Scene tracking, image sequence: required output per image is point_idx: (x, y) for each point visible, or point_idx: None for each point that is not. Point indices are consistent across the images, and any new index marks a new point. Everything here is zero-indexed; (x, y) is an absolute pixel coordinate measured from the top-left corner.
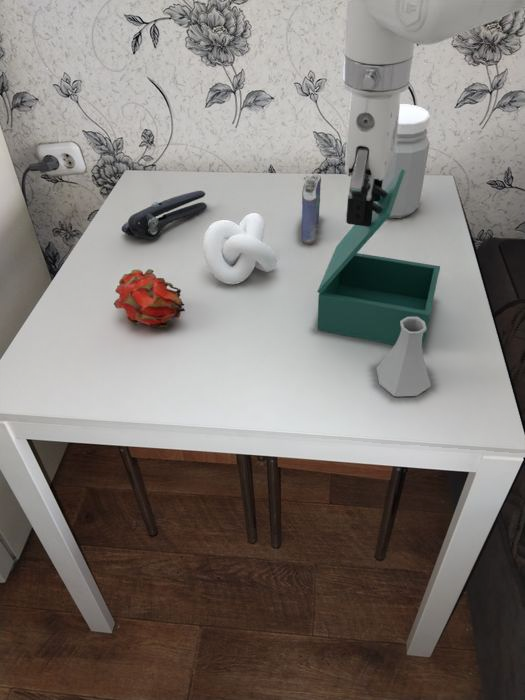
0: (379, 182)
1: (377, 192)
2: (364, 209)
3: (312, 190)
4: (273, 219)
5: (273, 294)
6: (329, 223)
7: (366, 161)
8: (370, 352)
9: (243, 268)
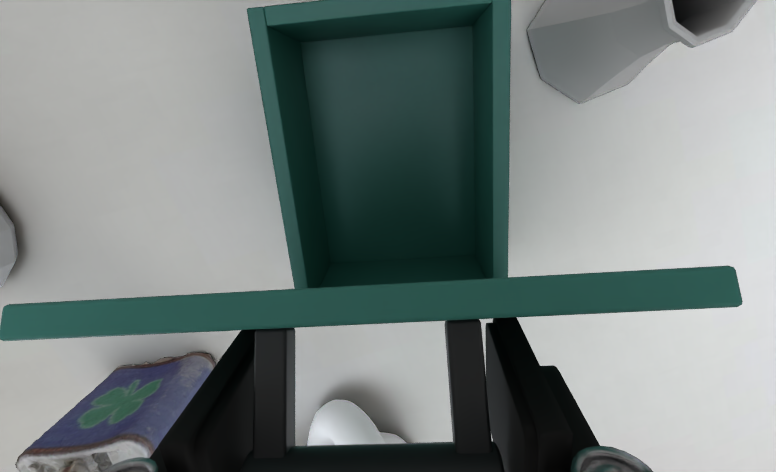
0: (225, 415)
1: (294, 383)
2: (587, 423)
3: (93, 454)
4: None
5: (404, 370)
6: (116, 343)
7: None
8: (522, 132)
9: None
